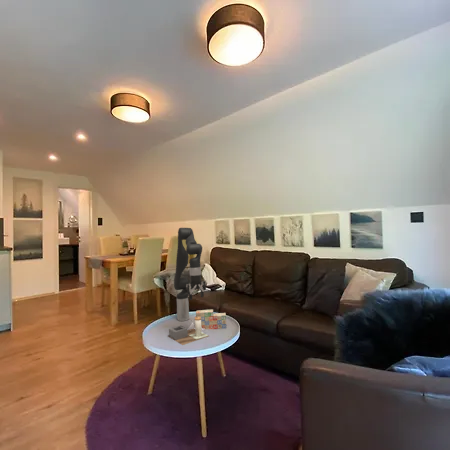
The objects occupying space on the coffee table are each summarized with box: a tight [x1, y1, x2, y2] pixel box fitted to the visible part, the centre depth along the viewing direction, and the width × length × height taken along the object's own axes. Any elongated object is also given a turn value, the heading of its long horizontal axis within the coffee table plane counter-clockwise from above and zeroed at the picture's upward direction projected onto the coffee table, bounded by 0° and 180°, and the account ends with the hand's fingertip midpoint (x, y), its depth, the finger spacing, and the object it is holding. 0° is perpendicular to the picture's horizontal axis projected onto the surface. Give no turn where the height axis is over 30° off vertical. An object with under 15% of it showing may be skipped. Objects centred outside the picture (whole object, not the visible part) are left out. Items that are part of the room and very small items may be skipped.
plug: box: [194, 315, 203, 336], centre depth 184 cm, size 4×4×12 cm
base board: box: [167, 327, 210, 346], centre depth 185 cm, size 20×20×2 cm
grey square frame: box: [168, 325, 189, 341], centre depth 185 cm, size 9×9×5 cm
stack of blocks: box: [195, 309, 227, 330], centre depth 203 cm, size 21×6×12 cm, turn 91°
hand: (196, 298), depth 185 cm, fingers open, 8 cm apart
